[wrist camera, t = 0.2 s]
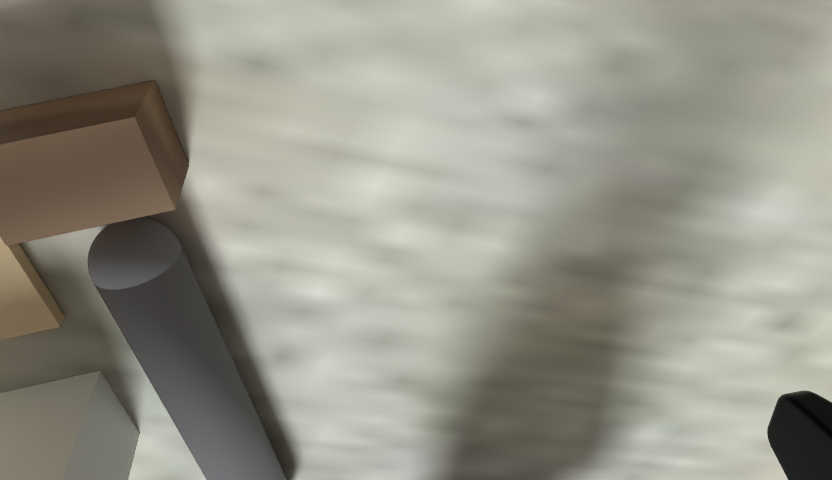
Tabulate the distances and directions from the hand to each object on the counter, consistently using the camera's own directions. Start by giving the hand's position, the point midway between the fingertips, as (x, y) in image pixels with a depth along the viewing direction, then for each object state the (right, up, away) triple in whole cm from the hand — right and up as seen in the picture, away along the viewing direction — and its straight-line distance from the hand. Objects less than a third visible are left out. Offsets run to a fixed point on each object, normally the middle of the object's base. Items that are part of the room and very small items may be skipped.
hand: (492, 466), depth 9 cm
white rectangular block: (-16, -4, +17) cm, 24 cm away
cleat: (-11, +7, +11) cm, 17 cm away
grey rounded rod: (-10, -3, +18) cm, 20 cm away
